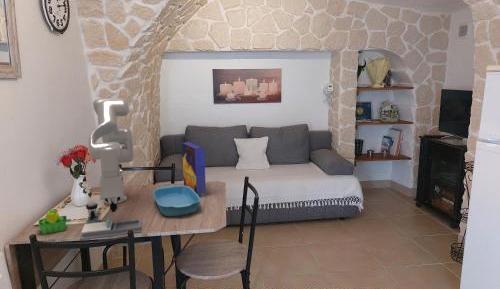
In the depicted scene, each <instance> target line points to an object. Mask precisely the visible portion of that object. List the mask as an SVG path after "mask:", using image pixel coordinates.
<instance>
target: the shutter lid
mask: <svg viewBox="0 0 500 289" xmlns="http://www.w3.org/2000/svg"><path fill="white" fill-rule="evenodd" d="M112 222H113V220H112V217H111V215H108V216H107V219H106V221H99V222H97V223H90V224H88V223H85V224H84V225H83V227H82V230H81V232H80V234H81V235H82V233H90V232H98V231H107V230H111V226H112Z"/></svg>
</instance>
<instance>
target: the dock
mask: <svg viewBox="0 0 500 289" xmlns="http://www.w3.org/2000/svg"><path fill="white" fill-rule="evenodd" d="M129 229H133V230H134V232H135V233H134V234H140V233H142V218H139V219H138V218H137V219H131V220H130V219H129V220H120V221H112V226H111V230H107V231H98V232H90V233H82V234H81V235H80V237H79V240H80V241H83V240H84V241H85V240H91V239H99V238H107V237H117V236H122V235H123V236H124V235H128V234H127V231H128V230H129Z"/></svg>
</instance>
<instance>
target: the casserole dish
mask: <svg viewBox="0 0 500 289" xmlns="http://www.w3.org/2000/svg"><path fill="white" fill-rule="evenodd" d="M152 195H153V197H154V200H155V202H156V205H157V207H158V209H159V211H160V213H162V215H164V216H166V217H178V216H183V215H184V214H185V215H190V214H193V213H195V212H196V211H198V210H199V209H198V208H199V205H200V203H201V197H199V196H198V195H197V194H196V193H195V191H194V190H193V189H192V188H190V187H188V186H184V185H168V186H167V185H166V186H163V187H159V188H156V189H154V190H153V191H152ZM189 213H190V214H189Z"/></svg>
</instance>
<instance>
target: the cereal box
mask: <svg viewBox="0 0 500 289" xmlns="http://www.w3.org/2000/svg"><path fill="white" fill-rule="evenodd" d="M181 149H182V150H181V151H182V152H181V153H182V171H183V173H182V174H183V186H188V187H190V188H192V189H193V190H194V191H195V193H196V194H197V195H198V196H199V197H200V198H203V197H202V196H205V197H207V190H206V189H207V186H206V185H207V184H206V183H207V182H206V162H205V160H206V159H205V155H206V154H205V147H204V146H202V145H200V144H199V145H198V144H197V143H194V142H191V141H186V142H182V143H181Z"/></svg>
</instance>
